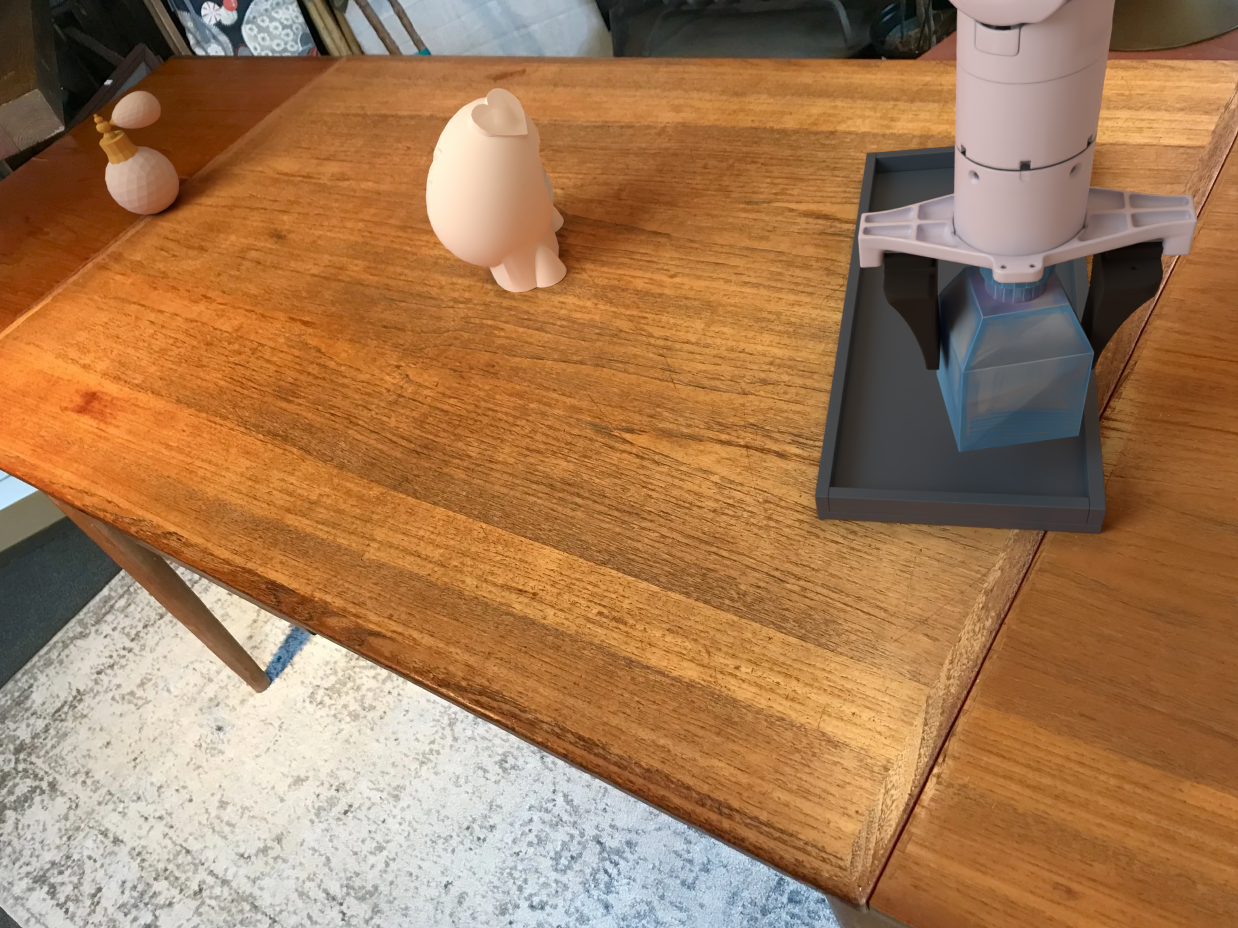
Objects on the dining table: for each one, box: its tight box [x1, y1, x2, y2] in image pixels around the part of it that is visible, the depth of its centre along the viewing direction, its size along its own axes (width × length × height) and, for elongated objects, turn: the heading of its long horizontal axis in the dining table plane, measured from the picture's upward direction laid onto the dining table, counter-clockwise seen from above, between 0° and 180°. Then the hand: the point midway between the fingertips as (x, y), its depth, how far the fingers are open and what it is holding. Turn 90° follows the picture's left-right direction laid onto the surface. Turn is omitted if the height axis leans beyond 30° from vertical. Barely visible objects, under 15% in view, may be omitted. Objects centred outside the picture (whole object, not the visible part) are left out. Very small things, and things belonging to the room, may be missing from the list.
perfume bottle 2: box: [937, 264, 1094, 452], centre depth 49 cm, size 6×6×12 cm
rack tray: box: [814, 145, 1107, 534], centre depth 64 cm, size 16×36×2 cm, turn 165°
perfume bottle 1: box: [93, 90, 180, 216], centre depth 104 cm, size 8×10×12 cm
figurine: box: [425, 87, 567, 293], centre depth 78 cm, size 11×11×15 cm
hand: (1007, 356), depth 51 cm, fingers closed on perfume bottle 2, 7 cm apart
